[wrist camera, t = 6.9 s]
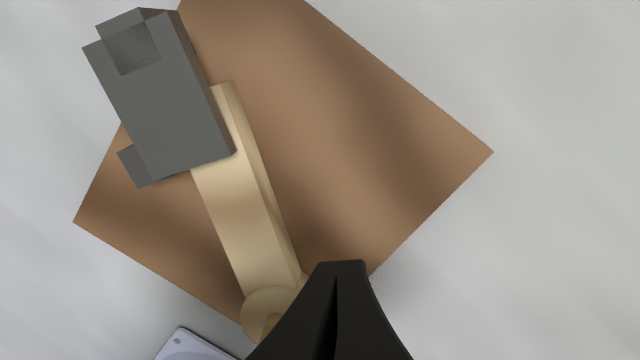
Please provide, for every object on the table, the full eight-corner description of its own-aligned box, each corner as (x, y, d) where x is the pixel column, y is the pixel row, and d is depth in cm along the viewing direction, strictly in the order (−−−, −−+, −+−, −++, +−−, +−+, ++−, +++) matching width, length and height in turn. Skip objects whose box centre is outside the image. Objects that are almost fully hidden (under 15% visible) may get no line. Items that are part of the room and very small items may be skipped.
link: (329, 318, 23) (323, 374, 19) (264, 328, 24) (246, 383, 20) (246, 74, 18) (216, 87, 14) (166, 98, 18) (117, 116, 15)
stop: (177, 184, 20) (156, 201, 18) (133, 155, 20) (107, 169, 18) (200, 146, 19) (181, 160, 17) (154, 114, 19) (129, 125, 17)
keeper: (185, 156, 20) (153, 180, 17) (123, 33, 18) (74, 35, 15) (252, 135, 19) (231, 155, 16) (196, 2, 17) (160, -3, 14)
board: (293, 340, 26) (290, 354, 25) (86, 212, 23) (72, 222, 22) (486, 144, 19) (493, 152, 18) (224, -63, 17) (215, -69, 16)
